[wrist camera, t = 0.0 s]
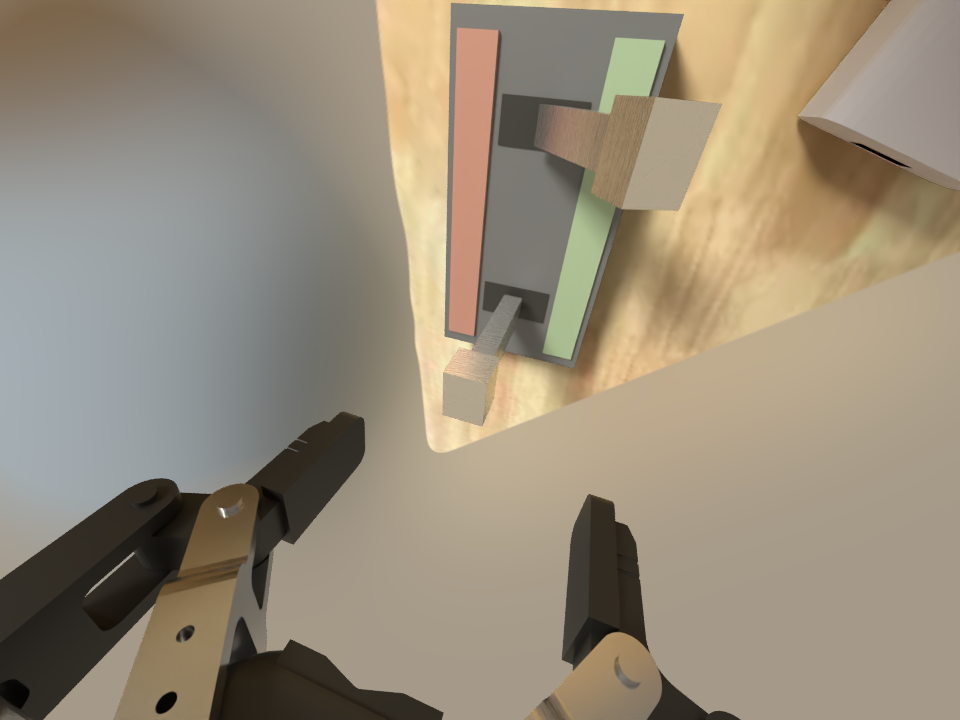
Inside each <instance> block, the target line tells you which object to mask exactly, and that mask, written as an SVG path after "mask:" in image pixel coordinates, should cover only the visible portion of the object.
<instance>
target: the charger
mask: <svg viewBox="0 0 960 720" xmlns="http://www.w3.org/2000/svg"><path fill="white" fill-rule="evenodd" d="M797 117H798V118H800V119H802V120H803V121H805V122H807V123H809V124H811V125H813V126H815V127H817V128H819V129H821V130H823V131H826V132H828V133H830V134H832V135H834V136H836V137H838V138H840V139H842V140H844V141H846V142H848V143H850V144H852V145H855V144H853V143H851V142H855V143H861V144H863V145H865V146H867V147H869V148H871V149H874V150H876V151H878V152H880V153H882V154H884V155H886V156H888V157H890V158H892V159H894V160H896V161H898V162H901V163H903V164H905V165H907V166H909V167H911V168H908V167H904V166H899V165H897V164H895V163H893V162H890V161H888V160H886V159H884V158H882V157H880V156H878V155H876V154H874V153H872V152H870V151H868V150H866V149H863V148H861V147H859V146H857V145H855V146H857V147H859V148H861V149H863V150H865V151H867V152H869V153H871V154H873V155H875V156H877V157H879V158H882V159H884V160H886V161H888V162H890V163H892V164H894V165H896V166H898V167H900V168H902V169H904V170H906V171H909V172H911V173H913V174H915V175H917V176H919V177H921V178H923V179H926V180H928V181H930V182H932V183H935V184H938V185H940V186H943V187H946V188H950V189H954V190H958V191H960V0H891V1H890V2H889V3H888V5H887V6H886V7H885V8H884V9H883V11H882V12H881V13H880V14H879V16H878V17H877V18H876V19H875V21H874V22H873V23H872V24H871V26H870V27H869V28H868V29H867V31H866V32H865V33H864V34H863V36H862V37H861V38H860V39H859V40H858V42H857V43H856V44H855V45H854V47H853V48H852V49H851V50H850V52H849V53H848V54H847V55H846V57H845V58H844V59H843V60H842V62H841V63H840V64H839V65H838V67H837V68H836V69H835V70H834V71H833V73H832V74H831V75H830V76H829V78H828V79H827V80H826V81H825V83H824V84H823V85H822V86H821V88H820V89H819V90H818V91H817V93H816V94H815V95H814V96H813V98H812V99H811V100H810V101H809V102H808V104H807V105H806V106H805V107H804V109H803V110H802V111H801V112H800V114H799V115H798V116H797Z"/></svg>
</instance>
